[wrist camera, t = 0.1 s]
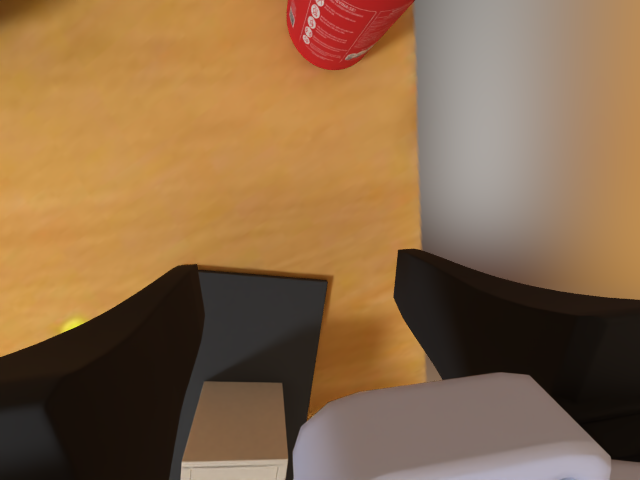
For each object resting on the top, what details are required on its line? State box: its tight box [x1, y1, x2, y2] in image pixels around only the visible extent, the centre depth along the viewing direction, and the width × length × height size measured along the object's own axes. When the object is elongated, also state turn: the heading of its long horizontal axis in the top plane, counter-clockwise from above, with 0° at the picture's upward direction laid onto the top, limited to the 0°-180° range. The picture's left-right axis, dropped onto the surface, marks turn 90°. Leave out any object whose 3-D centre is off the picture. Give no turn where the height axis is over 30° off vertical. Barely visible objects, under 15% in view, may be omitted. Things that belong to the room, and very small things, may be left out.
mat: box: [169, 270, 328, 480], centre depth 24 cm, size 17×10×1 cm, turn 172°
